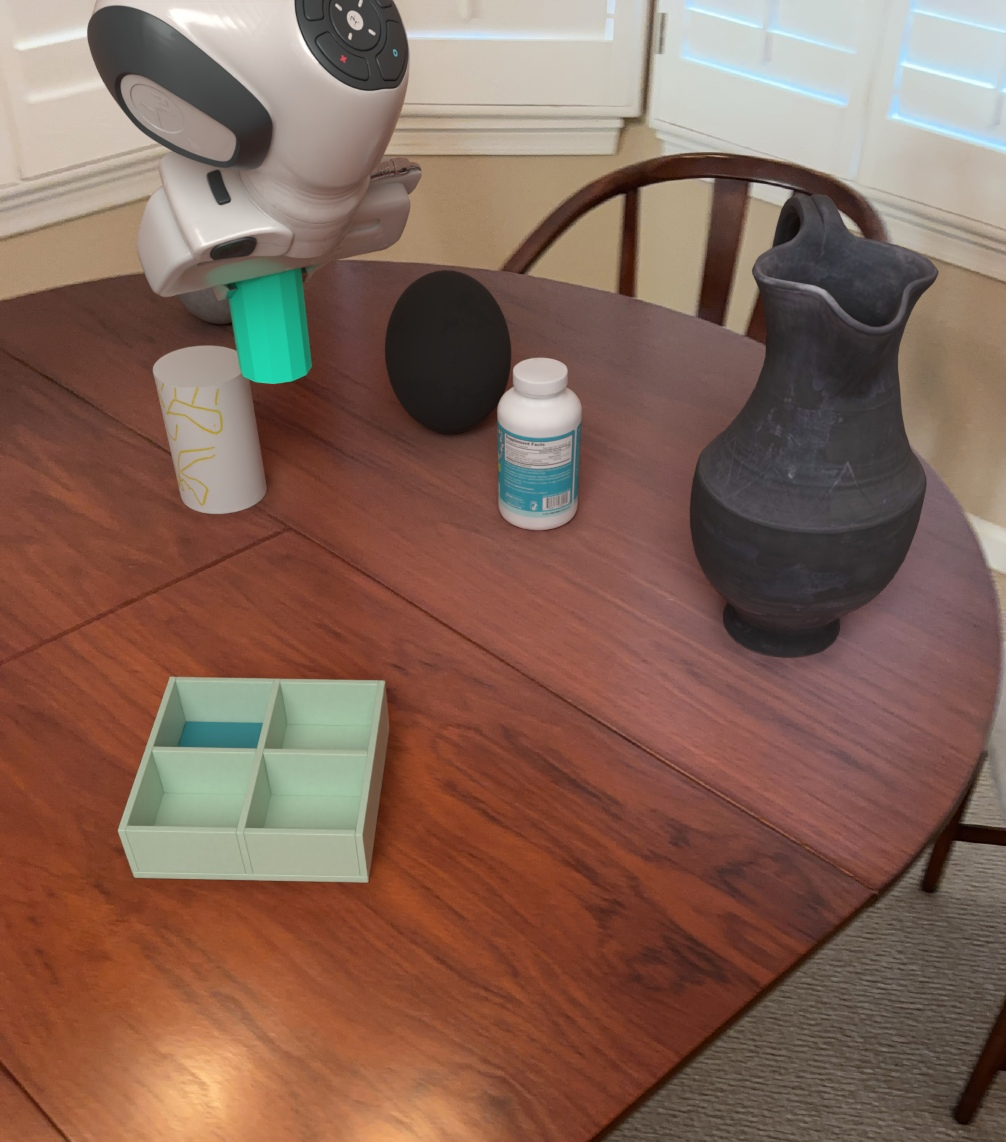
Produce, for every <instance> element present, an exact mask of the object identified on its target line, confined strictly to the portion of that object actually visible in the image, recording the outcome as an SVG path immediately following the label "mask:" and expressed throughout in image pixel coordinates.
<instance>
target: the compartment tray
mask: <svg viewBox="0 0 1006 1142" xmlns="http://www.w3.org/2000/svg"><path fill="white" fill-rule="evenodd" d="M387 695H388V694H387V683H386V680H383V679H382V680H381V679H380V680H378V679H375V680H374V679H325V678H324V679H323V678H322V679H321V678H271V677H269V678H268V677H267V678H266V677H265V678H263V677H212V676H211V677H208V676H207V677H206V676H203V677H202V676H169V679H168V682H167V684H166V687H165V690H164V693H163V696H162V699H161V702H160V705H159V708H158V710H157V714H156V716H155V720H154V722H153V725H152V729H151V732H150V734H149V736H148V740H147V742H146V746H145V749H144V752H143V755H142V758H141V761H140V764H139V767H138V769H137V772H136V774H135V775H136V776H135V777H134V778H135V779H134V782H133V784H132V787H131V790H130V793H129V796H128V799H127V802H126V805H125V808H124V810H123V813H122V816H121V820H120V822H119V825H118V828H117V833H118V836H119V838H120V842H121V844H122V848H123V850H124V853H125V856H126V859H127V862H128V865H129V867H130V868H129V869H130V871H131V873H132V876H133V878H134V879H164V880H165V879H166V880H167V879H169V880H170V879H171V880H172V879H173V880H214V881H215V880H217V881H218V880H219V881H220V880H221V881H225V880H227V881H266V882H269V881H270V882H271V881H273V882H314V883H315V882H316V883H318V882H320V883H366V884H367V883H369V881H370V875H371V874H370V873H371V866H372V860H373V851H374V845H375V844H374V843H375V838H376V831H377V822H378V815H379V809H380V800H381V793H382V786H383V779H384V773H385V764H386V758H387V750H388V743H389V735H390V718H389V708H388V707H389V705H388V696H387Z"/></svg>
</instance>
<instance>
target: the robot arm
mask: <svg viewBox="0 0 1006 1142" xmlns="http://www.w3.org/2000/svg"><path fill="white" fill-rule="evenodd" d="M404 23H405V22H404V20H403V17H402V15H401V12H400V10H399V8H398V6H397V3H396V2H395V0H95V3H94V5H93V9H92V12H91V17H90V18H89V20H88V23H87V27H86V28H87V29H86V37H87V39H86V40H87V44H88V48H89V51H90V54H91V59H92V60H93V64H94V65H95V68H96V70H97V72H98V75H99V77H100V79H101V81H102V82H103V84H104V86H105V87H106V90H107V91H108V92H109V94H110V96H111V97H112V98H113V100H114V101H115V102H116V104H117V106H118V107H119V108H120V109H121V110H122V112H123V113H124V114H125V116H126V117H127V118H128V119H129V121H130V122H131V123H132V124H133V125H134V126H135V127H136V128H137V129H138V130H139V131H140V132H141V133H143V134H144V135H146V136H147V137H148V138H150V139H151V140H152V141H155V142H156V143H157V144H159V145H161V146H162V147H164V148H166V149H168V150H170V151H169V152H168V153H166V154H164V155H163V156H162V157H161V158H160V160H159V162H158V167H157V169H158V174H159V178H160V182H161V186H159V187H158V188H157V189H156V190H155V191H154V192H153V193H152V194H151V195H150V197H149V198H148V200H147V202H146V204H145V207H144V208H143V209H144V210H143V212H142V215H141V219H140V223H139V226H138V232H137V238H136V246H135V247H136V254H137V257H138V261H139V263H140V265H141V268H142V271H143V274H144V276H145V278H146V281H147V283H148V285H149V288H150V289H151V291H152V292H153V293H154V294H156V295H158V296H160V297H163V298H170V297H174V296H177V295H179V294H183V293H188V292H192V291H197V290H202V289H206V288H211V287H212V288H213V291H214V293H215V296H216V298H217V300H218V301H221V300H226V299H230V298H232V297H233V295H234V294H235V292H236V291H237V290H238V287H237V286H236V284H235V282H238V281H243V280H247V279H252V278H257V277H261V276H266V275H270V274H275V273H279V272H284V271H289V270H293V269H298V268H301V272H302V281H303V283H306V282H310V281H311V280H312V277H313V275H314V273H315V272H317V271H318V270H320V269H322V268H323V267H325V266H326V265H327V264H329V263H330V262H334V261H339V260H343V259H347V258H352V257H358V256H362V255H366V254H371V253H376V252H380V251H385V250H387V249H389V248H390V247H392V246H393V245H395V244H396V243H398V242H399V240H401V238H402V235H403V233H404V231H405V228H406V226H407V223H408V220H409V217H410V212H411V199H410V196H409V195H411V194H412V192H414V191H415V189H416V188H417V187H418V184H419V182H420V181H421V179H422V176H423V173H422V166H421V165H420V164H419V162H417V161H416V162H415V161H410V160H409V158H407V157H404V156H398V157H391V156H389V155H385V153H386V151H387V149H388V147H389V144H390V142H391V140H392V138H393V135H394V133H395V130H396V127H397V124H398V122H399V119H400V117H401V113H402V110H403V107H404V103H405V99H406V95H407V91H408V86H409V80H410V68H411V56H410V55H411V54H410V46H409V39H408V34H407V31H406V30H407V29H406V26H405V24H404Z"/></svg>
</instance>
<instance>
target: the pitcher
mask: <svg viewBox="0 0 1006 1142" xmlns="http://www.w3.org/2000/svg"><path fill="white" fill-rule="evenodd" d="M754 261H755V262H754V264H753V266H752V269H751V274H752V277H753V279H754V281H755V283H756V286H757V288H758V291H759V294H760V297H761V302H762V308H763V312H764V313H763V314H764V323H765V331H766V336H765V353H764V355H765V356H764V360H763V363H762V367H761V370H760V372H759V376H758V379H757V381H756V384H755V387H754V389H753V390H752V392H751V393H750V395H749V397H748V399H747V400H746V402H745V404H744V405H743V407H742V408H741V410H740V411H739V412H738V414H737V415H736V416H735V418H734V419H733V420H732V421H731V423H730V424H728V426H727V427H726V428H725V429H724V430H723V431H721V432H720V433H719V434H718V435H716V436H715V437H714V438H713V439H712V440H711V441H710V442H709V443H708V444H707V445H706V446H705V447H704V448H703V449H702V450H701V452H700V454H699V455H698V457H697V461H696V465H695V469H694V473H693V477H692V482H691V489H690V499H689V501H690V502H689V528H690V536H691V537H690V538H691V542H692V547H693V551H694V555H695V558H696V560H697V562H698V564H699V567H700V569H701V571H702V573H703V575H704V576H705V578H706V579H707V581H708V582H709V584H710V585H711V586H712V587H713V588H714V590H715V591H716V592H717V594H719V595H720V597H721V598H723V600H725V602H726V604H725V606H724V610H723V612H722V615H723V619H722V620H723V621H722V622H723V625H724V629H725V631H726V632H727V633H728V636H730V638H732V639H733V640H734V642H736V643H737V644H739V645H741V646H742V647H744V648H745V649H748V650H750V651H752V652H754V653H757V654H761V655H763V656H764V655H765V656H769V657H775V658H798V657H799V658H800V657H804V656H805V657H806V656H809V655H813V654H817V653H820V652H822V651H825V650H826V649H828V648H829V647H830V646H831V645H832V644H833V643H834V642H835V641H837V638H838V636H839V634H840V631H841V619H840V618H843V617H844V616H846V615H848V614H850V613H852V612H854V611H856V610H859V609H860V608H863V607H864V606H866V605H867V604H869V603H870V602H872V601H873V600H874V599H875V598H876V597H878V596H879V595H880V594H881V593H882V592H883V591H884V590H885V589H886V588H887V586H888V585H889V584H890V583H891V582H892V580H893V579H894V578H895V576H896V575H897V573H898V571H899V570H900V568H901V567H902V565H903V564H904V561H905V560H906V557H907V555H908V553H909V551H910V548H911V546H912V543H913V540H914V538H915V535H916V533H917V529H918V525H919V522H920V519H921V514H922V511H923V505H924V501H925V498H926V492H927V486H928V485H927V484H928V482H927V476H926V472H925V469H924V467H923V465H922V463H921V461H920V459H919V458H918V457H917V456H916V454H915V453H914V452H913V449H912V448H911V444H910V441H909V438H908V434H907V431H906V427H905V423H904V416H903V409H902V395H901V382H900V373H899V354H900V353H899V352H900V345H901V342H902V339H903V335H904V333H905V329H906V327H907V324H908V321H909V319H910V316H911V314H912V312H913V310H914V308H915V306H916V304H917V303H918V302H919V300H920V298H921V297H922V296H923V294H924V293H926V291H927V290H928V289H930V288H931V286H933V285H934V283H935V282H936V280H937V279H938V276H939V270H938V268H937V267H936V265H935V264H934V263H933V262H932V260H931V259H929V258H928V257H927V256H924V255H923V254H921V253H919V252H917V251H914V250H913V249H910V248H907V247H904V246H901V245H898V244H893V243H889V242H885V241H881V240H877V239H872V238H867V237H862V236H858V235H855V234H854V233H853V232H851V230H849V228H848V227H847V225H846V223H845V222H844V220H843V218H842V216H841V213H840V211H839V209H838V206H837V205H836V203H835V202H834V200H833V199H832V198H831V197H830V196H829V195H826V194H821V193H814V194H811V195H810V196H809V195H807V194H805V193H802V192H800V193H799V192H798V193H796V194H795V195H793V196H791V197H789V198H788V199H786V201H785V202H784V203H783V206H782V207H781V209H780V212H779V215H778V219H777V223H776V226H775V231H774V236H773V242H772V246H771V248H770V249H767V250H765V251H764V252H763V253H761V254H760V255H759V256H758V257H757V258H756V259H755V260H754Z"/></svg>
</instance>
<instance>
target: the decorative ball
mask: <svg viewBox="0 0 1006 1142" xmlns="http://www.w3.org/2000/svg"><path fill="white" fill-rule="evenodd" d="M176 296H177V298H178V301H180V303H181V304H182V305H183V307H184V308H185V309H186V310H187V311H188V312H189V313H191V315H193V316H194V317H196V318H197V319H199V320H201V321H204V322H206V323H208V324H214V325H229V324H232V318H231V312H230V305H229V299H226V300H221V301H218V300H217V298H216V296H215V293H214V291H213V288H212V287H211V288H206V289H202V290H197V291H192V292H188V293H183V294H179V295H176Z"/></svg>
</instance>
